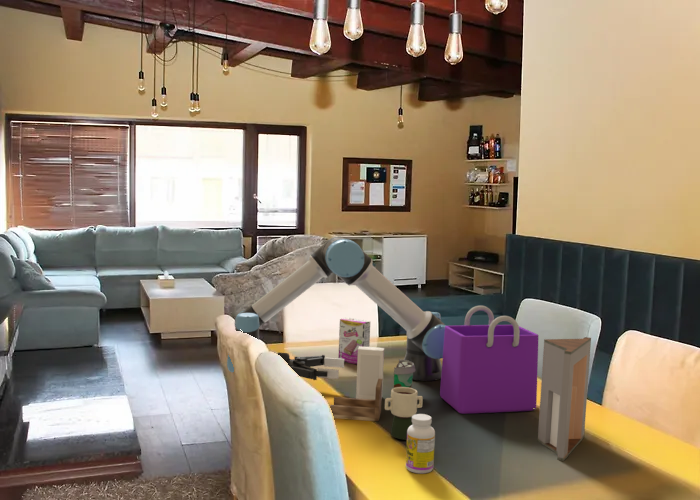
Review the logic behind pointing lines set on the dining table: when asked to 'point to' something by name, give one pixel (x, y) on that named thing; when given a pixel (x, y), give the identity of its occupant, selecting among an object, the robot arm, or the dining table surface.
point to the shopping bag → (489, 366)
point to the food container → (403, 373)
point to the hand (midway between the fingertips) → (341, 368)
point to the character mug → (402, 409)
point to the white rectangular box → (369, 371)
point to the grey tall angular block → (563, 394)
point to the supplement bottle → (420, 444)
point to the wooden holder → (358, 407)
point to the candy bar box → (352, 338)
